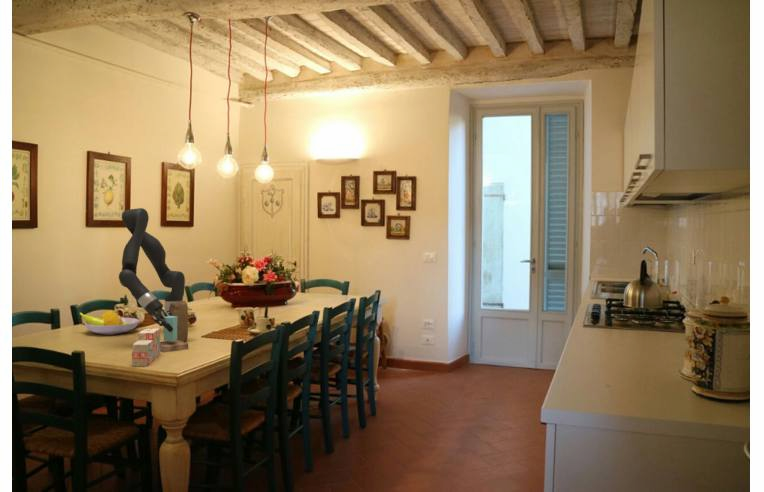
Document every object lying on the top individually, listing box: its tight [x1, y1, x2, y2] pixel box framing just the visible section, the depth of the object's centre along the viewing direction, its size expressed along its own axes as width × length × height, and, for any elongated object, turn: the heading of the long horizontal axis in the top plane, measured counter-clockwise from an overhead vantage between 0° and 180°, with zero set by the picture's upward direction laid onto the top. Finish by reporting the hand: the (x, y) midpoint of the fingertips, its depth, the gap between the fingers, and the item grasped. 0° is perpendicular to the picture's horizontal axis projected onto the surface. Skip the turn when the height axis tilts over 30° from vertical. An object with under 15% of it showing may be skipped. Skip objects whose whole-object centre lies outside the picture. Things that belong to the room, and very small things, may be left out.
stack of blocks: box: [131, 327, 161, 367], centre depth 246 cm, size 21×6×12 cm, turn 8°
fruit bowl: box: [78, 310, 140, 336], centre depth 305 cm, size 28×27×11 cm
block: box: [169, 300, 189, 343], centre depth 286 cm, size 11×8×20 cm
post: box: [163, 316, 177, 341], centre depth 269 cm, size 4×4×11 cm
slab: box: [160, 340, 189, 353], centre depth 270 cm, size 12×12×3 cm
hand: (174, 329), depth 269 cm, fingers open, 4 cm apart
